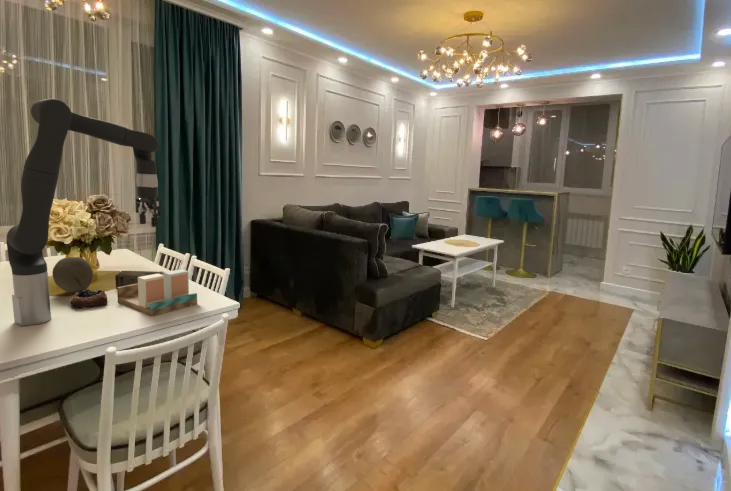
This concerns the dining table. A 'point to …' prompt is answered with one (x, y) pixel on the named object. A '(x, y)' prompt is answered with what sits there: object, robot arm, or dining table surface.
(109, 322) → the dining table surface
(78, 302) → the pastry
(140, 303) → the tea box
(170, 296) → the faced tea box
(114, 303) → the dining table surface
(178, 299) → the wooden tray
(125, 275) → the dark brown box
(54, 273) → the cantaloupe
